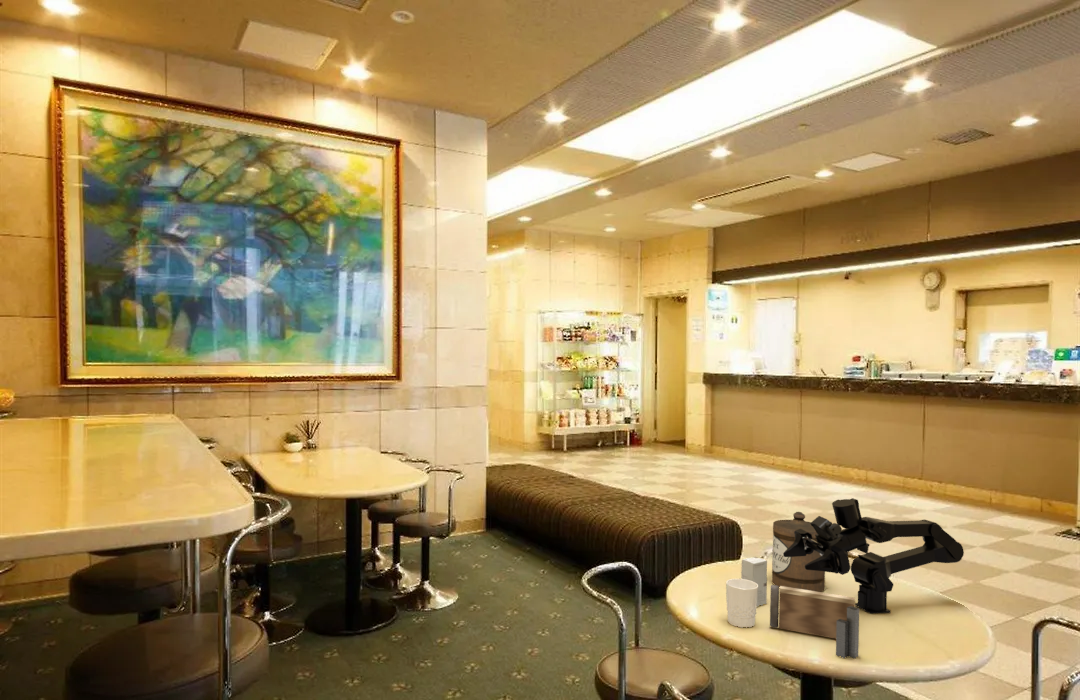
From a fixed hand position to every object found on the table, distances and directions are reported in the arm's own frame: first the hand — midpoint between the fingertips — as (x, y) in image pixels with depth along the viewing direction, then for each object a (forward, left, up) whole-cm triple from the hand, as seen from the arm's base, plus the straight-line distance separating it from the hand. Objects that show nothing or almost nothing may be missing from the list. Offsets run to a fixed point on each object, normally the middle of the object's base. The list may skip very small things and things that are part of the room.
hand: (794, 561), depth 175 cm
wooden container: (-15, -21, -15) cm, 30 cm away
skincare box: (+6, -9, -15) cm, 18 cm away
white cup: (+16, +3, -15) cm, 22 cm away
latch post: (+1, +24, -14) cm, 28 cm away
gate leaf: (+3, +12, -14) cm, 19 cm away
